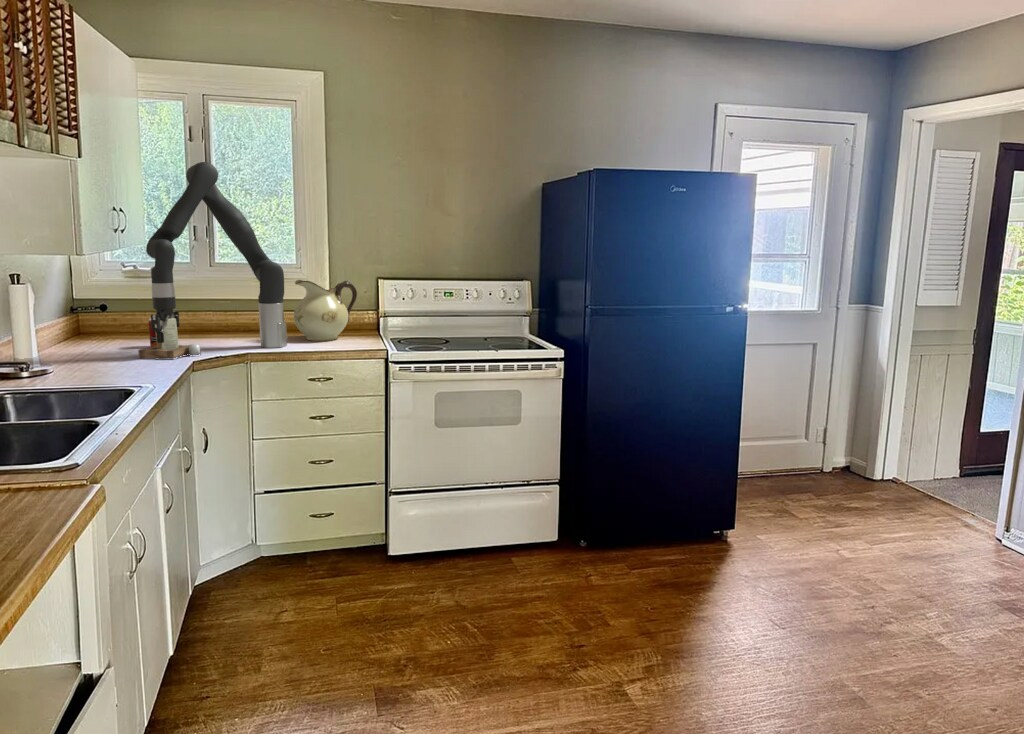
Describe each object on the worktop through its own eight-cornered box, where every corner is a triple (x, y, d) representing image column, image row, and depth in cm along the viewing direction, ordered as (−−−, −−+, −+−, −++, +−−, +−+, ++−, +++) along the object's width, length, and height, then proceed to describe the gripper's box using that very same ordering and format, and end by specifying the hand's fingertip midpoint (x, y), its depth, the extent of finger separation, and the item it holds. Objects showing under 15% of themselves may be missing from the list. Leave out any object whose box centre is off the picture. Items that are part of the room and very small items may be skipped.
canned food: (148, 348, 288) (146, 320, 286) (152, 345, 296) (150, 317, 294) (170, 347, 290) (168, 319, 288) (173, 345, 298) (171, 317, 296)
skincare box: (173, 350, 275) (171, 317, 273) (179, 352, 272) (177, 318, 270) (156, 352, 270) (153, 319, 268) (162, 354, 267) (159, 319, 265)
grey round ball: (202, 354, 274) (201, 344, 274) (197, 356, 271) (196, 345, 270) (192, 354, 275) (192, 343, 274) (187, 356, 271) (186, 345, 270)
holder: (195, 353, 277) (194, 345, 277) (174, 359, 264) (173, 350, 263) (161, 352, 279) (161, 344, 278) (139, 358, 265) (138, 350, 265)
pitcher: (283, 340, 312) (281, 280, 307) (315, 334, 334) (313, 277, 330) (330, 344, 305) (329, 282, 301) (359, 337, 327) (359, 279, 323)
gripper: (162, 297, 260) (165, 344, 263) (184, 294, 274) (187, 338, 277) (141, 297, 261) (145, 344, 264) (165, 294, 275) (168, 338, 278)
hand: (167, 341), depth 270 cm, fingers closed on skincare box, 7 cm apart
